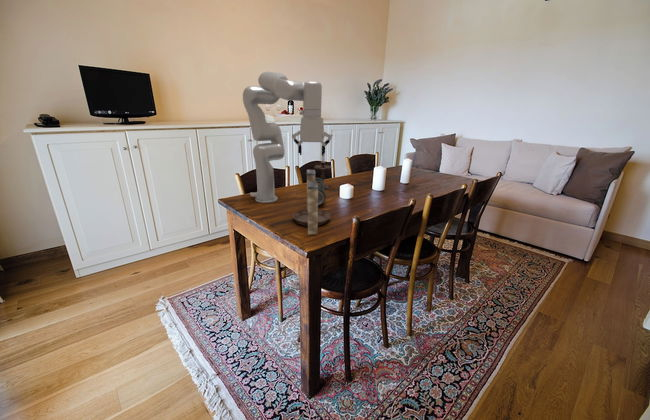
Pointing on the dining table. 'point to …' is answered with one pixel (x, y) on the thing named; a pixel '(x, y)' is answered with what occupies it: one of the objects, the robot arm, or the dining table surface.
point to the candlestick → (323, 168)
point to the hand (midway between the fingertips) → (311, 154)
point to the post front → (312, 208)
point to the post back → (310, 180)
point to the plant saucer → (303, 217)
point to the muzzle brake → (320, 190)
